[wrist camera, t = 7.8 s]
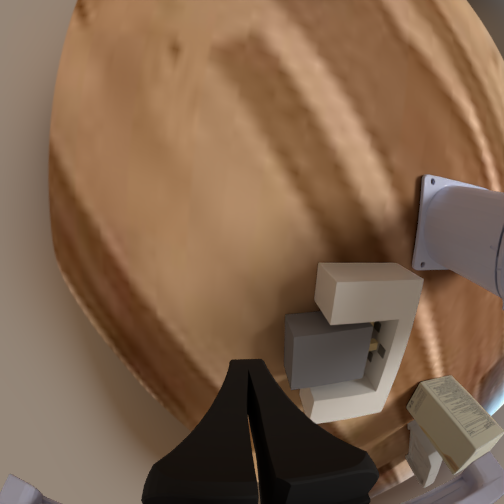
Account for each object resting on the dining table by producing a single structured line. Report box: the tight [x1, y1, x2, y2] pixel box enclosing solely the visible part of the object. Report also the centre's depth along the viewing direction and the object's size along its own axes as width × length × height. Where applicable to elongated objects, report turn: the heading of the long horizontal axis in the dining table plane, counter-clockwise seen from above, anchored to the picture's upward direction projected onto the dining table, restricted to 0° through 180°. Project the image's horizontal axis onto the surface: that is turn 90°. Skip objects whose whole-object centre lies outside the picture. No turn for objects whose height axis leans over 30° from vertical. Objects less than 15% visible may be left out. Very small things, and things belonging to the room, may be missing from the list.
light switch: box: [405, 420, 442, 488], centre depth 26 cm, size 2×12×8 cm, turn 21°
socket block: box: [299, 263, 424, 424], centre depth 21 cm, size 7×13×4 cm, turn 178°
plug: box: [284, 311, 378, 390], centre depth 21 cm, size 7×5×4 cm
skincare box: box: [406, 375, 504, 475], centre depth 20 cm, size 6×4×12 cm
